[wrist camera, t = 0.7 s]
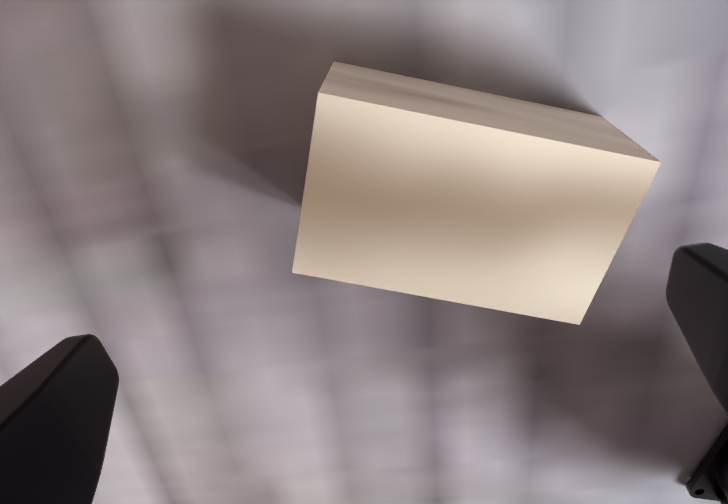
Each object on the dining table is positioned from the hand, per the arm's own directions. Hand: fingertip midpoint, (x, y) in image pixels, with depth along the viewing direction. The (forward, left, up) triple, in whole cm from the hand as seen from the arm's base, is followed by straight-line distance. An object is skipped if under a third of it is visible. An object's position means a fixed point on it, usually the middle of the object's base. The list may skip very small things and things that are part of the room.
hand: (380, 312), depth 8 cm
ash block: (-2, -3, -13) cm, 13 cm away
